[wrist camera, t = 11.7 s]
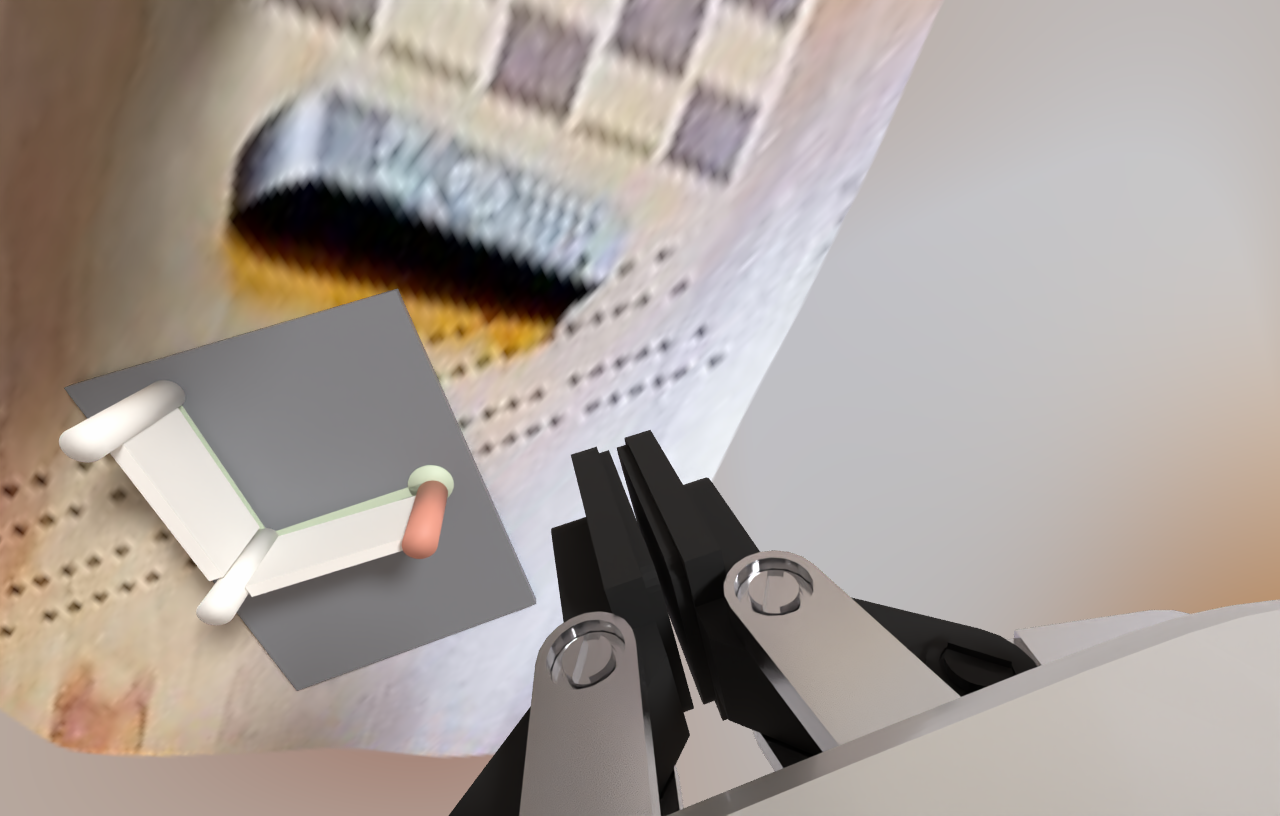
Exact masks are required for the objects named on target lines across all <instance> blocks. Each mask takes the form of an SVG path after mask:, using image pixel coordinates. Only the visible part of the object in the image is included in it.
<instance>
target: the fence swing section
mask: <svg viewBox="0 0 1280 816" xmlns="http://www.w3.org/2000/svg"><path fill="white" fill-rule="evenodd" d="M447 497H448V490H447V488H446V486H445V485H444V484H443V483H441V482H439V481H434V480H432V481H427V482H424V483H423V484H421V485H420V487H419V488H418V491H417V494H416V496H413V497H409V498H406V499H403V500H399V501H396V502H392V503H389V504H386V505H382V506H379V507H376V508H372V509H369V510H365V511H362V512H359V513H355V514H352V515H349V516H345V517H342V518H338V519H335V520H332V521H328V522H325V523H322V524H318V525H315V526H311V527H308V528H305V529H301V530H298V531H295V532H291V533H288V534H284V535H281V536H278V538H277V539H276V541H275V542H274V544H273V545H272V547H271V548H270V550H269V551H268V553H267V554H266V556H265V557H264V559H263V560H262V562H261V563H260V565H259V566H258V568H257V569H256V571H255V572H254V574H253V575H252V577H251V578H250V580H249V581H248V583H247V584H246V586H245V588H246V589H247V591H248V592H249V594H250V595H251V597H253V596H257V595H260V594H263V593H266V592H270V591H273V590H276V589H280V588H283V587H286V586H289V585H293V584H296V583H299V582H302V581H306V580H309V579H312V578H315V577H319V576H322V575H325V574H328V573H332V572H335V571H338V570H341V569H345V568H348V567H351V566H354V565H358V564H361V563H364V562H367V561H371V560H374V559H377V558H380V557H384V556H387V555H390V554H393V553H397V552H400V551H404V553H405V554H406V555H408V556H409V557H412V558H415V559H424V558H427V557H430V556H431V555H433V554H434V553H435V551H436V550H437V547H438V542H439V537H440V532H441V527H442V522H443V517H444V512H445V507H446V502H447Z"/></svg>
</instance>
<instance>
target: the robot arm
mask: <svg viewBox="0 0 1280 816" xmlns="http://www.w3.org/2000/svg"><path fill="white" fill-rule="evenodd" d="M625 443H626V445H624V446H621V447H618V448H617V451H618V455H619V459H620V462H621V466H622V470H623V473H624V477H625V480H626V484H627V487H628V491H629V495H630V498H631V502H632V505H633V509H634V512H635V516H636V518H635V516H634V513H633V510H632V508H631V505H630V503H629V500H628V498H627V495H626V493H625V490H624V488H623V485H622V482H621V480H620V477H619V475H618V472H617V470H616V467H615V465H614V462H613V460H612V457H611V454H610V452H609V450H608V451H605V452H602V453H599V452H598V449H597V447H594V448H591V449H588V450H585V451H582V452H578V453H575V454H572V455H571V458H572V462H573V466H574V470H575V474H576V478H577V482H578V486H579V490H580V494H581V498H582V502H583V506H584V510H585V514H586V517H585V518H582V519H579V520H576V521H573V522H569V523H566V524H563V525H560V526H557V527H554V528H552V529H551V534H552V542H553V549H554V556H555V563H556V570H557V578H558V585H559V592H560V599H561V606H562V614H563V621H564V623H563V624H561V625H560V626H558V627H557V628H556V629H555V630H554V631H553V632H552V633H551V634H550V635H549V636H548V637H547V638H546V640H545V642H544V643H543V645H542V647H541V648H540V650H539V653H538V656H537V660H536V664H535V672H534V682H533V691H532V700H531V707H530V708H529V709H528V711H527V712H526V713H525V715H524V716H523V717H522V719H521V720H520V721H519V723H518V724H517V725H516V727H515V728H514V729H513V731H512V732H511V733H510V735H509V736H508V737H507V739H506V740H505V741H504V743H503V744H502V745H501V747H500V748H499V749H498V751H497V752H496V753H495V755H494V756H493V757H492V759H491V760H490V761H489V763H488V764H487V765H486V767H485V768H484V769H483V771H482V772H481V773H480V775H479V776H478V777H477V779H476V780H475V781H474V783H473V784H472V785H471V787H470V788H469V789H468V791H467V792H466V793H465V795H464V796H463V797H462V799H461V800H460V801H459V803H458V804H457V805H456V807H455V808H454V809H453V811H452V812H451V813H450V815H449V816H1280V600H1272V601H1264V602H1256V603H1248V604H1241V605H1232V606H1227V607H1221V608H1217V609H1212V610H1207V611H1203V612H1198V613H1194V614H1188V613H1184V612H1179V611H1175V610H1149V611H1142V612H1135V613H1128V614H1122V615H1114V616H1108V617H1101V618H1094V619H1087V620H1080V621H1073V622H1066V623H1059V624H1052V625H1046V626H1038V627H1031V628H1024V629H1017V630H1015V633H1014V638H1013V639H1004V638H1003V637H1001V636H999V635H996V634H993V633H990V632H988V631H985V630H982V629H978V628H974V627H970V626H966V625H962V624H958V623H954V622H950V621H946V620H941V619H937V618H933V617H929V616H925V615H921V614H916V613H912V612H908V611H904V610H900V609H896V608H892V607H888V606H884V605H880V604H875V603H871V602H867V601H863V600H859V599H855V598H851V597H850V596H848V595H847V594H846V593H845V592H844V591H843V590H842V589H841V588H840V587H838V586H837V585H836V584H835V583H834V582H833V581H832V580H831V579H829V578H828V577H827V576H826V575H825V574H824V573H823V572H822V571H821V570H819V568H817V567H816V566H815V565H814V564H812V563H811V562H810V561H808V560H806V559H805V558H804V557H802V556H799V555H796V554H793V553H790V552H784V551H765V552H760V551H759V550H758V548H757V547H756V545H755V544H754V542H753V541H752V540H751V538H750V537H749V535H748V534H747V532H746V531H745V530H744V528H743V526H742V525H741V524H740V522H739V521H738V519H737V518H736V516H735V515H734V513H733V512H732V511H731V509H730V508H729V506H728V505H727V503H726V502H725V501H724V499H723V498H722V496H721V495H720V493H719V492H718V490H717V489H716V488H715V486H714V485H713V483H712V482H711V481H710V479H709V478H703V479H700V480H697V481H694V482H691V483H688V484H685V485H683V484H682V482H681V481H680V479H679V477H678V476H677V474H676V472H675V471H674V469H673V467H672V466H671V464H670V462H669V460H668V459H667V457H666V455H665V454H664V452H663V450H662V449H661V447H660V445H659V444H658V442H657V440H656V438H655V437H654V435H653V433H652V432H651V430H648V431H645V432H642V433H639V434H636V435H632V436H629V437H626V438H625ZM636 520H637V521H636ZM668 614H669V615H668ZM669 616H670V619H671V622H672V624H673V627H674V629H675V632H676V635H677V637H678V640H679V642H680V645H681V648H682V650H683V653H684V655H685V658H686V661H687V664H688V666H689V669H690V671H691V674H692V676H693V679H694V681H695V684H696V687H697V690H698V692H699V695H700V697H701V700H702V702H703V704H707V703H709V702H712V701H715V703H716V705H717V708H718V710H719V712H720V715H721V718H722V720H723V721H724V720H726V719H728V720H730V721H733V722H735V723H737V724H740V725H742V726H745V727H747V728H750V729H752V730H753V734H754V737H755V739H756V741H757V743H758V746H759V747H760V749H761V750H762V752H763V754H764V755H765V757H766V758H767V760H768V761H769V763H770V765H771V766H772V768H773V769H774V771H775V772H773V773H771V774H768V775H765V776H763V777H761V778H758V779H756V780H753V781H751V782H748V783H746V784H743V785H741V786H738V787H736V788H733V789H731V790H728V791H726V792H724V793H721V794H719V795H716V796H714V797H711V798H709V799H706V800H704V801H701V802H699V803H696V804H694V805H692V806H689V807H687V808H684V807H683V799H682V792H681V786H680V779H679V775H678V772H677V768H676V762H677V760H678V758H679V756H680V754H681V752H682V750H683V748H684V746H685V744H686V742H687V740H688V738H689V736H690V734H689V730H688V727H687V723H686V719H685V716H684V713H683V712H685V711H688V710H691V709H693V708H694V706H693V703H692V699H691V696H690V692H689V688H688V684H687V681H686V677H685V673H684V670H683V666H682V663H681V659H680V655H679V651H678V648H677V644H676V641H675V637H674V633H673V630H672V626H671V622H670V619H669Z"/></svg>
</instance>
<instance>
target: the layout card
mask: <svg viewBox="0 0 1280 816" xmlns="http://www.w3.org/2000/svg"><path fill="white" fill-rule="evenodd" d="M160 380H168V381H172V382H174V383H176V384H178V385H179V386H180V387H181V388H182V389H183V391H184V393H185V401H184V403H183V404H182V405H181V406H180V407H178V408H179V410H180V411H181V413H182V414H183V416H184V417H185V419H186V420H187V422H188V423H189V425H190V426H191V428H192V429H193V430H194V432H195V433H196V435H197V436H198V438H199V439H200V441H201V442H202V444H203V445H204V447H205V448H206V449H207V451H208V452H209V454H210V455H211V457H212V458H213V460H214V461H215V463H216V464H217V466H218V467H219V468H220V470H221V471H222V473H223V474H224V476H225V477H226V479H227V480H228V482H229V483H230V485H231V486H232V487H233V489H234V490H235V492H236V493H237V495H238V496H239V498H240V499H241V501H242V502H243V504H244V505H245V506H246V508H247V509H248V511H249V512H250V514H251V515H252V517H253V518H254V520H255V521H256V523H257V524H258V525H259V527H260V528H259V529H265V528H271V529H273V530H275V531H276V533H278V534H279V536H281V535H284V534H288V533H291V532H295V531H298V530H301V529H305V528H308V527H311V526H315V525H318V524H322V523H325V522H328V521H332V520H335V519H338V518H342V517H345V516H349V515H352V514H355V513H359V512H362V511H365V510H369V509H372V508H376V507H379V506H382V505H386V504H389V503H392V502H396V501H399V500H403V499H406V498H409V497H413V496H416V494H417V491H418V488H419V487H420V485H421V484H423V483H424V482H427V481H432V480H434V481H439V482H441V483H443V484H444V485H445V486H446V488H447V490H448V497H447V502H446V507H445V512H444V517H443V522H442V527H441V532H440V537H439V542H438V547H437V550H436V551H435V553H434V554H433V555H431V556H430V557H427V558H424V559H415V558H412V557H409V556H408V555H406V554H405V553H404V551H400V552H397V553H393V554H390V555H387V556H384V557H380V558H377V559H374V560H371V561H367V562H364V563H361V564H358V565H354V566H351V567H348V568H345V569H341V570H338V571H335V572H332V573H328V574H325V575H322V576H319V577H315V578H312V579H309V580H306V581H302V582H299V583H296V584H293V585H289V586H286V587H283V588H280V589H276V590H273V591H270V592H266V593H263V594H260V595H257V596H253V597H251V595H250V594H248V595H247V597H246V598H245V600H244V601H243V603H242V605H241V606H240V608H239V609H238V611H237V613H238V615H239V616H240V617H241V619H242V620H243V621H244V623H245V624H246V625H247V626H248V628H249V629H250V630H251V632H252V633H253V634H254V636H255V637H256V638H257V639H258V641H259V642H260V643H261V645H262V646H263V647H264V649H265V650H266V651H267V652H268V654H269V655H270V656H271V658H272V659H273V660H274V662H275V663H276V664H277V665H278V667H279V668H280V669H281V671H282V672H283V673H284V675H285V676H286V677H287V678H288V680H289V681H290V682H291V684H292V685H293V686H294V688H295V689H296V690H297V691H298V690H301V689H303V688H306V687H309V686H312V685H314V684H317V683H320V682H323V681H325V680H328V679H331V678H334V677H336V676H339V675H342V674H345V673H347V672H350V671H353V670H356V669H358V668H361V667H364V666H367V665H369V664H372V663H375V662H378V661H380V660H383V659H386V658H389V657H391V656H394V655H397V654H400V653H402V652H405V651H408V650H411V649H413V648H416V647H419V646H422V645H424V644H427V643H430V642H433V641H435V640H438V639H441V638H444V637H446V636H449V635H452V634H455V633H457V632H460V631H463V630H466V629H468V628H471V627H474V626H477V625H479V624H482V623H485V622H488V621H490V620H493V619H496V618H499V617H501V616H504V615H507V614H510V613H512V612H515V611H518V610H521V609H523V608H526V607H529V606H532V605H534V604H536V598H535V596H534V593H533V591H532V589H531V587H530V584H529V582H528V580H527V578H526V575H525V573H524V571H523V569H522V566H521V564H520V562H519V560H518V557H517V555H516V553H515V551H514V549H513V546H512V544H511V542H510V540H509V537H508V535H507V533H506V531H505V528H504V526H503V524H502V522H501V519H500V517H499V515H498V513H497V510H496V508H495V506H494V504H493V501H492V499H491V497H490V495H489V492H488V490H487V488H486V486H485V483H484V481H483V479H482V477H481V474H480V472H479V470H478V468H477V466H476V463H475V461H474V459H473V457H472V454H471V452H470V450H469V448H468V445H467V443H466V441H465V439H464V436H463V434H462V432H461V430H460V427H459V425H458V423H457V421H456V418H455V416H454V414H453V412H452V409H451V407H450V405H449V403H448V400H447V398H446V396H445V394H444V391H443V389H442V387H441V385H440V383H439V380H438V378H437V376H436V374H435V371H434V369H433V367H432V365H431V362H430V360H429V358H428V356H427V353H426V351H425V349H424V347H423V344H422V342H421V340H420V338H419V335H418V333H417V331H416V329H415V326H414V324H413V322H412V320H411V317H410V315H409V313H408V311H407V308H406V306H405V304H404V302H403V300H402V297H401V295H400V293H399V291H398V289H395V290H392V291H388V292H385V293H381V294H378V295H375V296H371V297H368V298H364V299H361V300H358V301H354V302H351V303H347V304H344V305H341V306H337V307H334V308H330V309H327V310H324V311H320V312H317V313H313V314H310V315H307V316H303V317H300V318H296V319H293V320H289V321H286V322H283V323H279V324H276V325H272V326H269V327H266V328H262V329H259V330H255V331H252V332H249V333H245V334H242V335H238V336H235V337H232V338H228V339H225V340H221V341H218V342H215V343H211V344H208V345H204V346H201V347H198V348H194V349H191V350H187V351H184V352H181V353H177V354H174V355H170V356H167V357H164V358H160V359H157V360H153V361H150V362H146V363H143V364H140V365H136V366H133V367H129V368H126V369H123V370H119V371H116V372H112V373H109V374H106V375H102V376H99V377H95V378H92V379H89V380H85V381H82V382H78V383H75V384H72V385H69V386H67V387H65V388H64V389H65V390H66V391H67V393H68V394H69V395H70V397H71V398H72V399H73V401H74V402H75V403H76V404H77V406H78V407H79V408H80V410H81V411H82V412H83V413H84V415H85V416H86V417H87V419H88V418H90V417H92V416H94V415H96V414H97V413H99V412H101V411H103V410H105V409H107V408H108V407H110V406H112V405H114V404H116V403H118V402H119V401H121V400H123V399H125V398H127V397H129V396H130V395H132V394H134V393H136V392H138V391H140V390H141V389H143V388H145V387H147V386H149V385H151V384H153V383H154V382H156V381H160ZM259 529H258V530H259ZM218 579H219V578H218ZM218 579H215V580H212V581H213V582H214V584H215V583H216V582H217V580H218Z"/></svg>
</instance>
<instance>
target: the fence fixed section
mask: <svg viewBox="0 0 1280 816" xmlns="http://www.w3.org/2000/svg"><path fill="white" fill-rule="evenodd" d="M184 401H185V393H184V391H183V389H182V388H181V387H180V386H179V385H178V384H176V383H174V382H172V381H168V380H160V381H156V382H154V383H153V384H151V385H149V386H147V387H145V388H143V389H141V390H140V391H138V392H136V393H134V394H132V395H130V396H129V397H127V398H125V399H123V400H121V401H119V402H118V403H116V404H114V405H112V406H110V407H108V408H107V409H105V410H103V411H101V412H99V413H97V414H96V415H94V416H92V417H90V418H88V419H86V420H85V421H83V422H81V423H79V424H77V425H75V426H74V427H72V428H70V429H68V430H66V431H65V432H63V433H62V434H61V436H60V438H59V445H60V448H61V449H62V451H63V452H64V453H65V454H66V455H67V456H69V457H70V458H72V459H74V460H77V461H80V462H94V461H97V460H99V459H101V458H103V457H104V456H106V455H107V454H109V453H110V454H111V455H112V456H113V458H114V459H115V460H116V462H117V463H118V464H119V465H120V467H121V468H122V469H123V471H124V472H125V473H126V474H127V476H128V477H129V478H130V480H131V481H132V482H133V483H134V485H135V486H136V487H137V489H138V490H139V491H140V493H141V494H142V495H143V496H144V498H145V499H146V500H147V502H148V503H149V504H150V505H151V507H152V508H153V509H154V511H155V512H156V513H157V515H158V516H159V517H160V518H161V520H162V521H163V522H164V524H165V525H166V526H167V527H168V529H169V530H170V531H171V533H172V534H173V535H174V536H175V538H176V539H177V540H178V542H179V543H180V544H181V546H182V547H183V548H184V549H185V551H186V552H187V553H188V555H189V556H190V557H191V558H192V560H193V561H194V562H195V564H196V565H197V566H198V568H199V569H200V570H201V571H202V573H203V574H204V575H205V577H206V578H207V579H208V580H209V581H212V580H215V579H218V578H219V579H218V580H217V582H216V583H215V584H214V586H213V587H212V589H211V590H210V591H209V593H208V594H207V595H206V597H205V598H204V599H203V601H202V602H201V603H200V605H199V606H198V608H197V611H196V613H197V616H198V618H199V619H200V620H201V621H203V622H204V623H207V624H210V625H223V624H226V623H228V622H229V621H231V620H232V618H233V617H234V615H235V614H236V612H237V611H238V609H239V608H240V606H241V605H242V603H243V601H244V600H245V598H246V597H247V595H248V594H249V592H248V591H247V589H246V588H245V586H246V584H247V583H248V581H249V580H250V578H251V577H252V575H253V574H254V572H255V571H256V569H257V568H258V566H259V565H260V563H261V562H262V560H263V559H264V557H265V556H266V554H267V553H268V551H269V550H270V548H271V547H272V545H273V544H274V542H275V541H276V539H277V538H278V536H279V534H278V533H276V531H275V530H273V529H271V528H265V529H259V528H260V527H259V525H258V524H257V523H256V521H255V520H254V518H253V517H252V515H251V514H250V512H249V511H248V509H247V508H246V506H245V505H244V504H243V502H242V501H241V499H240V498H239V496H238V495H237V493H236V492H235V490H234V489H233V487H232V486H231V485H230V483H229V482H228V480H227V479H226V477H225V476H224V474H223V473H222V471H221V470H220V468H219V467H218V466H217V464H216V463H215V461H214V460H213V458H212V457H211V455H210V454H209V452H208V451H207V449H206V448H205V447H204V445H203V444H202V442H201V441H200V439H199V438H198V436H197V435H196V433H195V432H194V430H193V429H192V428H191V426H190V425H189V423H188V422H187V420H186V419H185V417H184V416H183V414H182V413H181V411H180V410H179V408H178V407H180V406H181V405H182V404H183V403H184ZM258 529H259V530H258Z"/></svg>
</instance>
